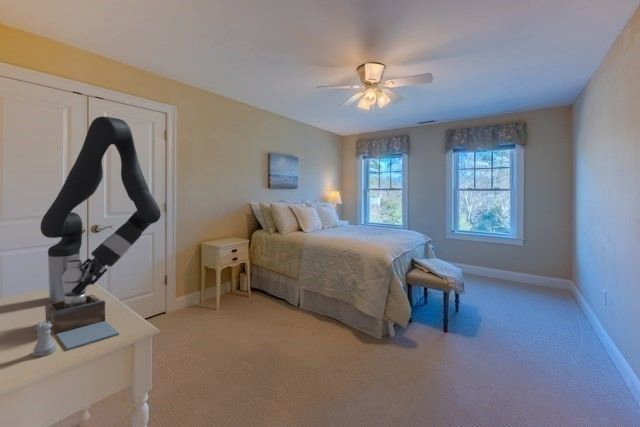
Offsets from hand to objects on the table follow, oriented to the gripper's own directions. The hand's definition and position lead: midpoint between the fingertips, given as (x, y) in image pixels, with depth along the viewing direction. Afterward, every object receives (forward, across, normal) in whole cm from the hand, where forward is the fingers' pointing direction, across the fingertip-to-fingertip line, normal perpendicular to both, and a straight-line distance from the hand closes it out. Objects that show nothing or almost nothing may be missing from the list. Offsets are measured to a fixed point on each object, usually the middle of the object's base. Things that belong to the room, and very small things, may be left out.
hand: (70, 290), depth 94 cm
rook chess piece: (+14, +16, +2) cm, 21 cm away
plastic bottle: (+7, 0, +9) cm, 11 cm away
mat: (+7, +13, +8) cm, 17 cm away
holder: (+7, 0, +8) cm, 11 cm away
